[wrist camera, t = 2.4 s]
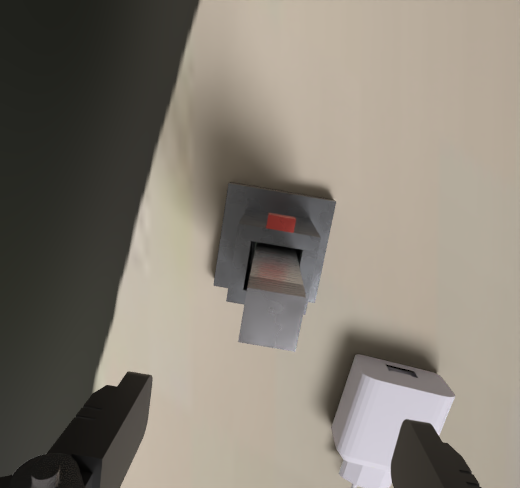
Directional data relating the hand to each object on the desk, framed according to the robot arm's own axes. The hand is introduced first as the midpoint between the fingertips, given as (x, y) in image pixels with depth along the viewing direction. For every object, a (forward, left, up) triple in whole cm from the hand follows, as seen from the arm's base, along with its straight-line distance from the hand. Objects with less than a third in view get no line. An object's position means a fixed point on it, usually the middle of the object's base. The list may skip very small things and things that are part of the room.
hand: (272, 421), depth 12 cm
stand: (0, 0, -27) cm, 27 cm away
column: (0, 0, -25) cm, 25 cm away
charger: (+18, +14, -27) cm, 36 cm away
